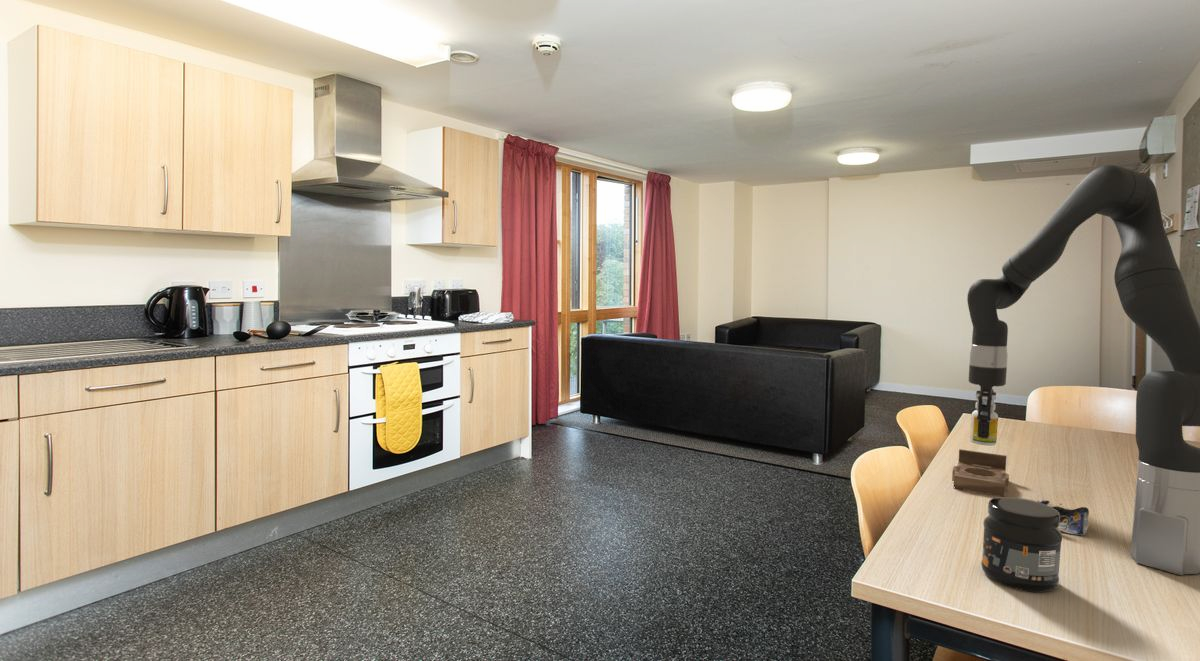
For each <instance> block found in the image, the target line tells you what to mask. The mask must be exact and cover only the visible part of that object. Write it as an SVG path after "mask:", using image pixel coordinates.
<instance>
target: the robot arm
mask: <svg viewBox="0 0 1200 661" xmlns="http://www.w3.org/2000/svg"><path fill="white" fill-rule="evenodd" d="M1160 206H1161V205H1160V200H1159V196H1158V191H1157V187H1156V186H1155V183H1154V182H1153V180H1152V179H1151V178H1150V177H1149V176H1148V175H1146V174H1144V173H1142V172H1139V171H1135V170H1133V169H1129V168H1125V167H1123V166H1119V165H1111V164H1110V165H1109V164H1108V165H1107V164H1106V165H1102V166H1099V167H1097V168H1095V169H1094V170H1092V171H1091V172H1090V173H1089V174H1087V175H1086V176H1085V177H1084V178H1083V179H1082V180H1081V181H1080V182H1079V183H1078V184H1077V185H1076V187H1075V188H1074V189H1073V190H1072V191H1071V192H1070V194H1069V195H1068V196H1067V197H1066V199H1064V201H1063V202H1062V203H1061V205H1059V207H1058V208H1057V209H1056V210H1055V211H1054V213H1053V214H1052V215H1051V217H1050V218H1049V219H1048V220H1047V221H1046V222H1045V224H1044V225H1042V227H1041V228H1040V229H1039V231H1038V232H1037V233H1036V234H1034V235H1033V237H1032V238H1031V239H1029V241H1027V243H1025V244H1024V245H1023V246H1022V247H1021V248H1020V249H1018V250H1017V251H1016V252H1015V253H1014V254H1012V255H1011V256H1010V257H1009V258H1008V259H1007V260H1006V261H1005V262H1004V263H1003V265H1002V267H1001V271H1002V275H1001V276H1000V277H998V278H997V279H996V278H992V279H991V278H983V279H978V280H976V281H974V282H973V283H971V284H972V285H971V286H970V287H969V289H968V292H967V298H966V300H967V301H966V302H967V307H968V312H969V315H970V320H971V323H972V337H971V348H970V352H969V365H968V366H969V367H968V382H969V383H970V384H973V385H977V386H979V388H980V390H976V393H975V400H976V402H977V405H976V404H975V406H976V407H975V410H977V412H978V416H977V420H978V437H980V438H988V437H989V423H990V421H991V418H990V416H991V413H993V410H994V404H995V402H996V398H997V392H995V391H994V389H993V387H1003V386H1004V387H1005V385H1006V384H1007V370H1008V369H1007V368H1008V336H1009V335H1008V334H1009V330H1008V329H1009V327H1008V323H1007V322H1005V321H1004V320H1000V319H999V316H998V311H997V310H1005V309H1007V308H1009V307H1012V306H1013V305H1014V304H1016V303H1017V302H1018V301H1019V300H1020V299H1021V298H1022V297H1023V295H1024V294H1025V293H1026V292H1027V291H1028V289H1029V288H1030V286H1031V285H1032V283H1033V282H1035V281H1036V280H1037V279H1039V278H1040V277H1041V276H1043V275H1044V274H1045V273H1046V272H1048V270H1050V269H1051V268H1052V267H1053V266H1054V265H1055V264H1056V263H1057V262H1058V261H1059V260H1060V258H1061V257H1062V255H1063V253H1064V251H1065V249H1066V247H1067V244H1068V242H1069V240H1070V238H1071V236H1072V235H1073V233H1074V232H1075V231H1076V229H1077V228H1079V227H1080V226H1081V225H1082V224H1083V223H1084V222H1086V221H1087V220H1089V219H1091V218H1092V217H1094V216H1095V215H1096V214H1097V215H1101V216H1105V217H1108V218H1110V219H1111V220H1112V222H1113V223H1114V225H1115V227H1116V229H1117V232H1118V236H1119V240H1120V243H1121V251H1120V254H1119V257H1118V260H1117V263H1116V266H1115V269H1114V277H1113V278H1114V284H1115V287H1116V288H1115V289H1116V291H1117V295H1118V297H1119V300H1120V304H1121V307H1122V309H1123V311H1124V313H1125V315H1126V316H1127V317H1128V318H1129V319H1130V320H1131V321H1132V322H1133V323H1134V324H1135V326H1137V327H1138V328H1139V329H1140V330H1142V332H1144V334H1146V335H1147V336H1148V337H1149V338H1150V339H1151V340H1153V341H1154V342H1155V343H1156V344H1157V345H1158V346H1159V347H1160V348H1161V349H1162V351H1163V353H1165V355H1166V357H1167V358H1168V360H1169V362H1170V364H1171V367H1172V368H1173V369H1172V370H1154V371H1151V372H1148V373H1147V374H1145V375H1144V376H1143V377H1142V379H1141V380H1140V382H1139V383H1138V386H1137V389H1136V390H1137V391H1136V398H1135V442H1136V445H1137V449H1138V460H1137V473H1136V481H1135V482H1136V483H1135V494H1134V495H1135V496H1134V507H1133V508H1134V509H1133V518H1132V519H1133V522H1132V535H1131V547H1130V556H1131V557H1132V558H1133V559H1134V562H1135V563H1137V564H1139V565H1144V566H1147V567H1151V568H1154V569H1157V570H1161V571H1165V572H1168V573H1171V574H1174V575H1179V576H1183V575H1197V574H1200V447H1197V446H1195V445H1192V444H1189V443H1188V442H1186V441H1185V440H1184V433H1183V432H1184V431H1183V427H1200V323H1199V321H1198V318H1197V316H1196V313H1195V311H1194V308H1193V305H1192V303H1191V300H1190V297H1189V294H1188V290H1187V287H1186V284H1185V280H1184V278H1183V275H1182V273H1181V270H1180V268H1179V266H1178V263H1177V261H1176V258H1175V255H1174V252H1173V249H1172V246H1171V243H1170V240H1169V238H1168V236H1167V232H1166V230H1165V226H1164V221H1163V217H1162V211H1161V210H1162V209H1161V207H1160ZM994 411H995V410H994ZM981 412H986V413H988V416H985V415H981Z"/></svg>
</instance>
